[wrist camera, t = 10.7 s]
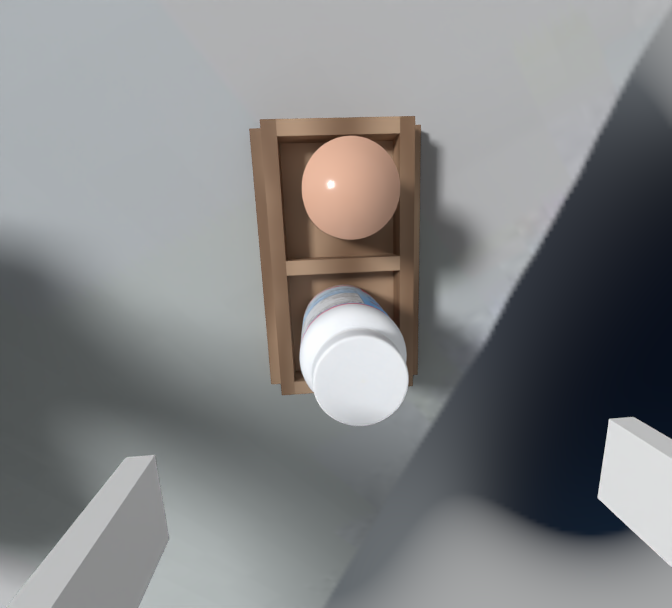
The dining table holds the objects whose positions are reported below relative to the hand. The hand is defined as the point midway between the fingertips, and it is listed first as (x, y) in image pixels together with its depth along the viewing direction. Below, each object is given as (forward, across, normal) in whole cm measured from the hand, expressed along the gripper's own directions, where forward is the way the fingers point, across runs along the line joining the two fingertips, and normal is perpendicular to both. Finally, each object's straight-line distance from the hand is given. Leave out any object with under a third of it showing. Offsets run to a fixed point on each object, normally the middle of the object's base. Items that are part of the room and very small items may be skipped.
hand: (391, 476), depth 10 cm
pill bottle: (+18, 0, 0) cm, 18 cm away
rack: (+19, 0, +4) cm, 19 cm away
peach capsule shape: (+18, 0, +9) cm, 20 cm away
